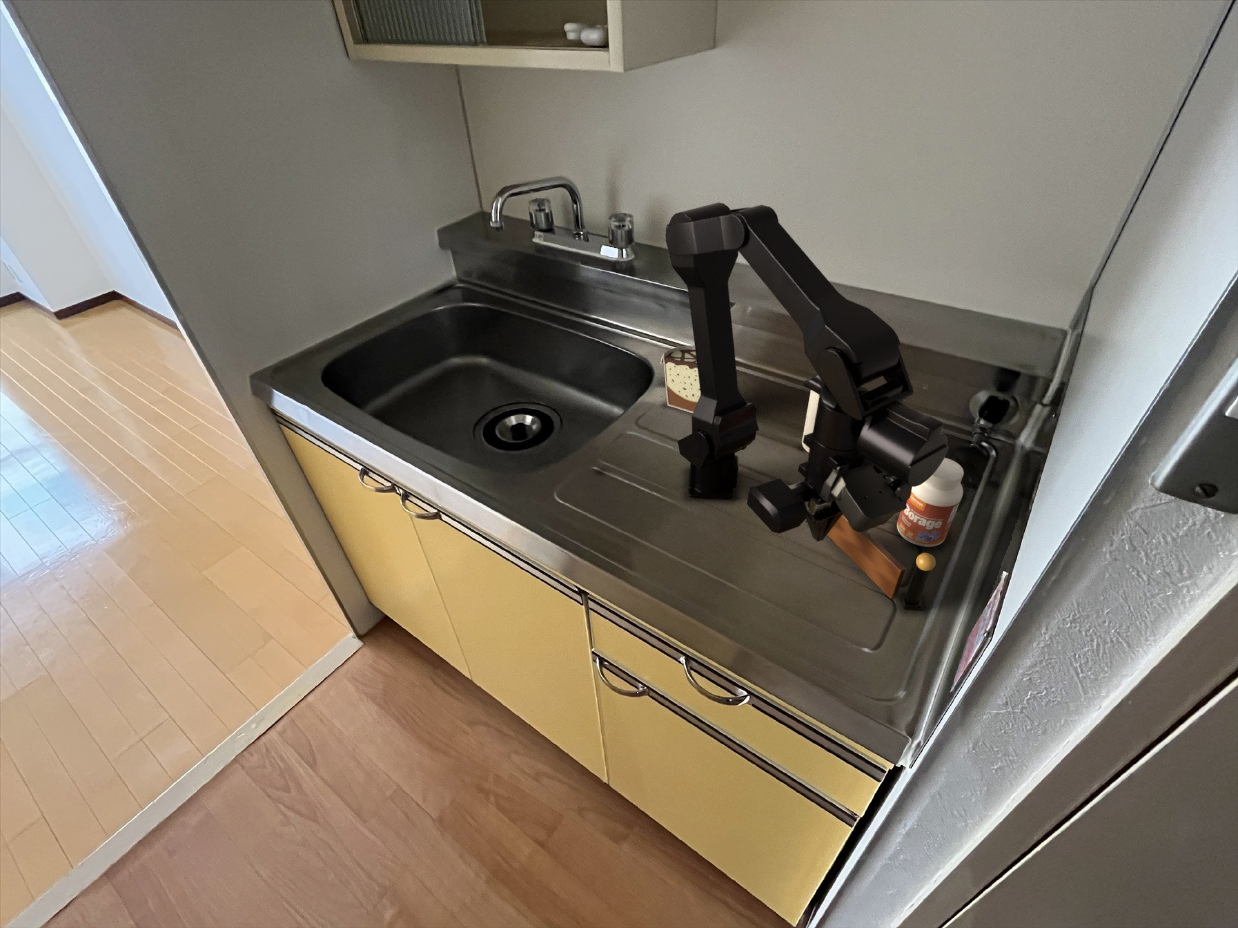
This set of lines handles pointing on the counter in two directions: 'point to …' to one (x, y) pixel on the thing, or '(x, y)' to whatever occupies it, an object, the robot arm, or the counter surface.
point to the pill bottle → (932, 506)
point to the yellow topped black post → (918, 582)
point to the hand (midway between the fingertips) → (817, 538)
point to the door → (869, 556)
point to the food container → (681, 377)
